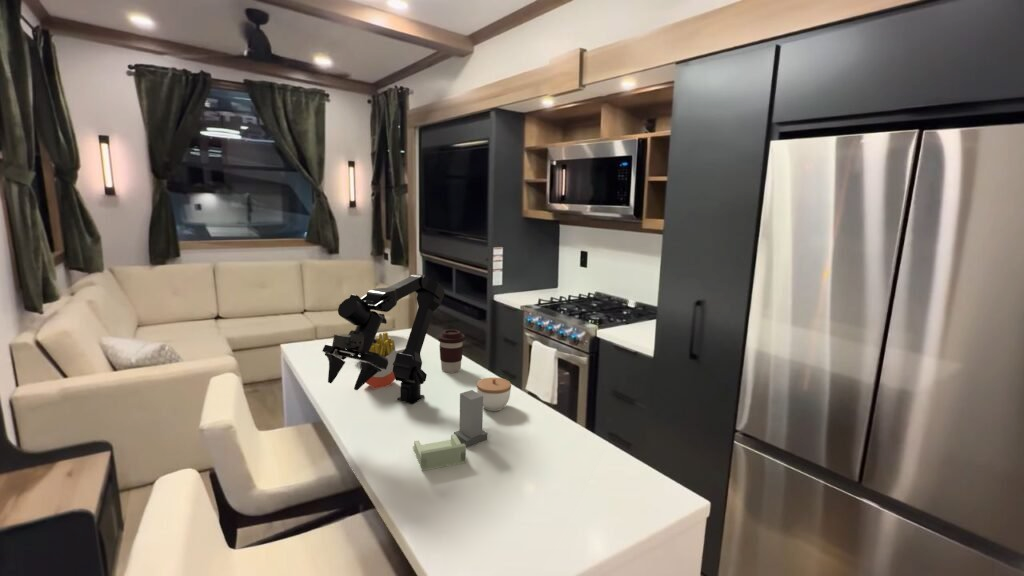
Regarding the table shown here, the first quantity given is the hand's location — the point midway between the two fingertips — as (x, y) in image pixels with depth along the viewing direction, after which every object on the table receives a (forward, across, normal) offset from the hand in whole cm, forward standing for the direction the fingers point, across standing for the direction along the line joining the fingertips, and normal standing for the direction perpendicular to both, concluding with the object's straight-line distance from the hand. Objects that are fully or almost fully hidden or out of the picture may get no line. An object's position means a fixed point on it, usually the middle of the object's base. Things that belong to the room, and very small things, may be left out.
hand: (342, 386), depth 124 cm
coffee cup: (-22, -3, +56) cm, 60 cm away
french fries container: (-7, -16, +35) cm, 39 cm away
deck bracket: (+9, +27, +12) cm, 31 cm away
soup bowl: (-20, -33, +53) cm, 66 cm away
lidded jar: (-10, +26, +39) cm, 48 cm away
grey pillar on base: (+3, +30, +22) cm, 37 cm away
